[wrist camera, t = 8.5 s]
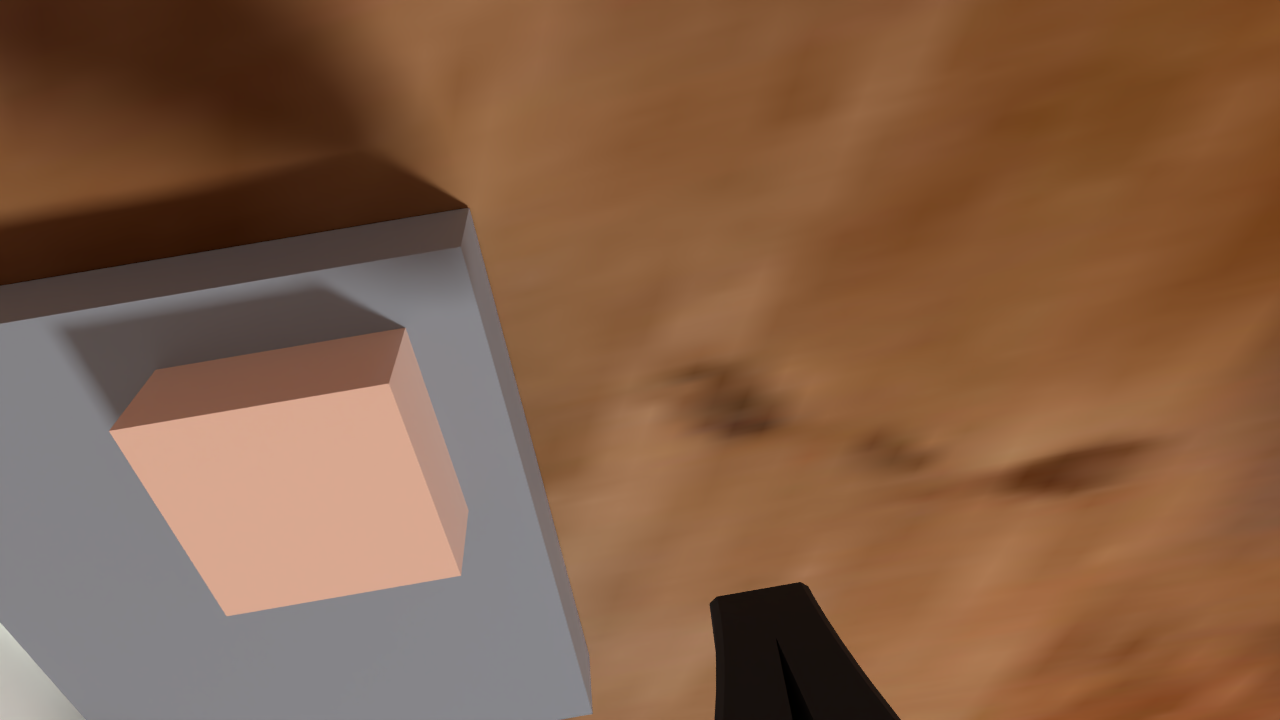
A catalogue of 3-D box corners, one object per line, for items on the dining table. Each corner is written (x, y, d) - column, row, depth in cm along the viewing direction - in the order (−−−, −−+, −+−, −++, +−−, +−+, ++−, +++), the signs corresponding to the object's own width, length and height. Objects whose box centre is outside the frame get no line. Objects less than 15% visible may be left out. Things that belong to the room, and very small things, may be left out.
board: (589, 655, 25) (592, 714, 23) (176, 728, 25) (149, 792, 23) (469, 207, 17) (460, 246, 15) (-150, 310, 16) (-229, 361, 15)
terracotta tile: (468, 510, 18) (461, 576, 17) (255, 547, 18) (226, 616, 17) (405, 327, 16) (388, 383, 14) (155, 370, 16) (108, 431, 14)
